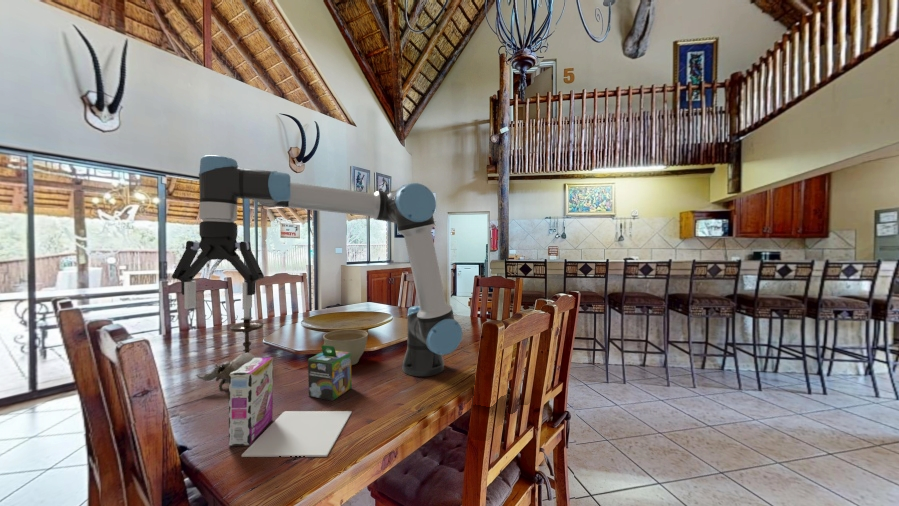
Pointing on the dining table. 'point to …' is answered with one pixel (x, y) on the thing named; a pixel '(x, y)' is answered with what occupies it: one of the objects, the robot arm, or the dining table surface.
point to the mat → (300, 434)
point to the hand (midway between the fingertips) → (218, 308)
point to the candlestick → (246, 328)
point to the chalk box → (329, 373)
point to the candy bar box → (250, 400)
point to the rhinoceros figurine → (227, 369)
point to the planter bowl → (347, 342)
